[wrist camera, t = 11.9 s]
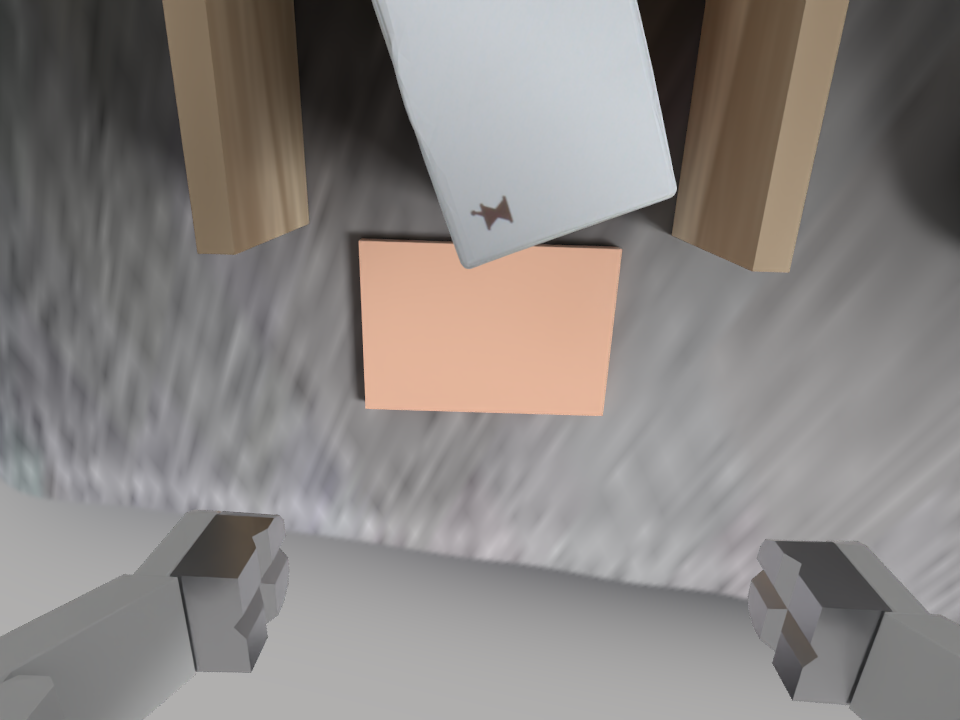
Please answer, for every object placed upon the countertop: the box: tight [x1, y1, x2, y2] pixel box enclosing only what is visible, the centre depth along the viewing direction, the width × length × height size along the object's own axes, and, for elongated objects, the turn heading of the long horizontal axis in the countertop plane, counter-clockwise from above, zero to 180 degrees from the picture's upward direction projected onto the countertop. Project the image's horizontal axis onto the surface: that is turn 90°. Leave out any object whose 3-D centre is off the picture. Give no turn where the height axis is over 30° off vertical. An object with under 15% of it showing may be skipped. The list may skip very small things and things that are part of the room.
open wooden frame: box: [162, 0, 849, 273], centre depth 17 cm, size 16×10×7 cm, turn 88°
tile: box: [359, 239, 622, 416], centre depth 23 cm, size 10×7×1 cm
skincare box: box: [372, 0, 677, 269], centre depth 15 cm, size 6×4×12 cm
